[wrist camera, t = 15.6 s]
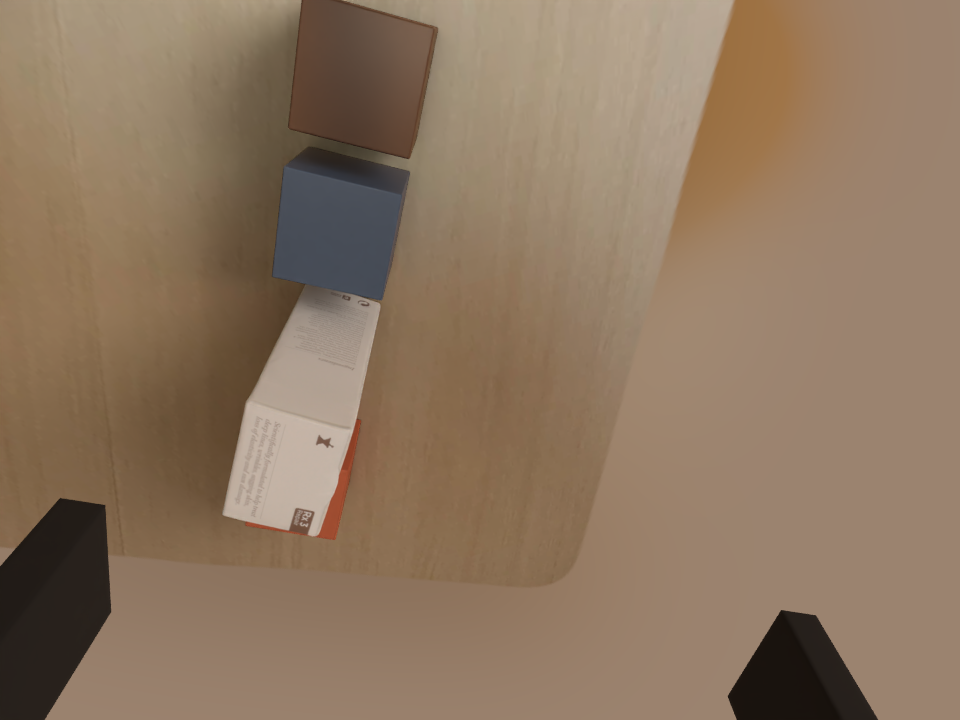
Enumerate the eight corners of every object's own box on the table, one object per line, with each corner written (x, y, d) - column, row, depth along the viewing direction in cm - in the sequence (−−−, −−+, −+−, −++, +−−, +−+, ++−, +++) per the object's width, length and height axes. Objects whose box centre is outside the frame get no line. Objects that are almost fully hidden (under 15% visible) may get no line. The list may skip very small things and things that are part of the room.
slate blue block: (410, 171, 31) (402, 194, 27) (391, 265, 34) (382, 301, 29) (308, 145, 31) (283, 166, 26) (296, 243, 33) (271, 277, 28)
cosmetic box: (305, 276, 34) (236, 393, 23) (387, 302, 35) (356, 426, 24) (281, 372, 36) (208, 517, 26) (357, 394, 37) (318, 542, 26)
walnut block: (438, 27, 28) (435, 27, 24) (416, 140, 31) (409, 159, 26) (326, -5, 28) (302, -10, 23) (312, 113, 30) (287, 128, 26)
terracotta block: (361, 419, 38) (348, 471, 34) (348, 484, 40) (335, 540, 36) (276, 403, 37) (252, 454, 33) (268, 470, 40) (244, 526, 35)
